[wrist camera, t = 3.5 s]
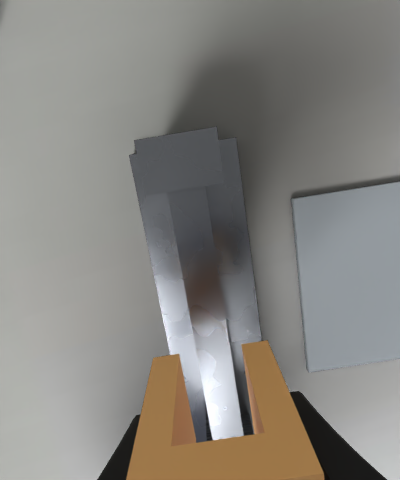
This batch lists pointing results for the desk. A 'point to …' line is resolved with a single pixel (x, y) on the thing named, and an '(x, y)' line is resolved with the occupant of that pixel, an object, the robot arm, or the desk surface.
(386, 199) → the mat
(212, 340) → the rail stand
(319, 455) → the robot arm
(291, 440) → the clip
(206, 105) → the desk surface
